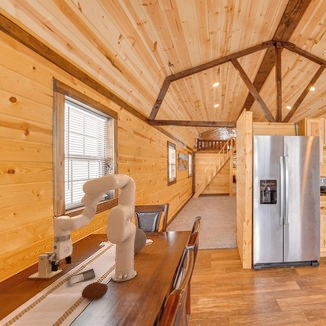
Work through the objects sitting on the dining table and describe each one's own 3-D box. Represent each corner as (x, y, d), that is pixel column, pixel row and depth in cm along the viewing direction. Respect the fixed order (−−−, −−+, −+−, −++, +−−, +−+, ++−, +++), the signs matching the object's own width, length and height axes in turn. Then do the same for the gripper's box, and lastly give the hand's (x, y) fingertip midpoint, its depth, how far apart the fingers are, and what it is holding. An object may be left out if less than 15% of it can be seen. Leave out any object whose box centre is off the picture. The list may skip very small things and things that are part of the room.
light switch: (93, 271, 138) (69, 280, 130) (93, 268, 138) (68, 277, 130) (95, 278, 130) (69, 288, 122) (95, 274, 129) (69, 284, 122)
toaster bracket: (62, 272, 138) (62, 251, 138) (49, 279, 129) (49, 257, 129) (42, 272, 138) (42, 251, 138) (27, 279, 129) (28, 256, 129)
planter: (146, 250, 175) (146, 225, 176) (146, 253, 169) (146, 228, 169) (118, 253, 168) (119, 228, 168) (117, 257, 161) (117, 230, 162)
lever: (65, 264, 136) (67, 260, 136) (58, 267, 131) (60, 264, 131) (46, 256, 136) (48, 252, 136) (39, 259, 131) (40, 255, 131)
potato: (106, 300, 110) (106, 284, 110) (79, 306, 105) (79, 289, 105) (108, 291, 118) (108, 276, 118) (83, 296, 113) (83, 281, 113)
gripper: (56, 243, 125) (55, 274, 125) (79, 233, 143) (79, 261, 142) (42, 242, 125) (41, 274, 125) (67, 233, 143) (66, 261, 142)
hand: (61, 267), depth 134 cm, fingers open, 9 cm apart
